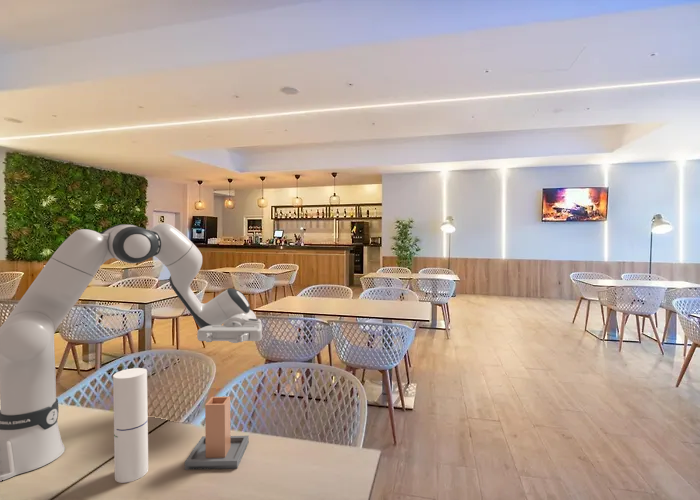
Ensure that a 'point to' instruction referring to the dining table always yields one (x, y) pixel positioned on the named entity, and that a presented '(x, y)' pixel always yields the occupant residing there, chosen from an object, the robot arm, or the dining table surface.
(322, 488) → the dining table surface
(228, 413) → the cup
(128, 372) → the cylindrical container
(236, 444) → the tray
